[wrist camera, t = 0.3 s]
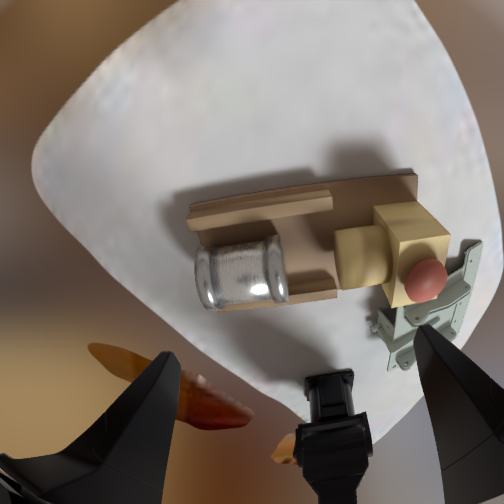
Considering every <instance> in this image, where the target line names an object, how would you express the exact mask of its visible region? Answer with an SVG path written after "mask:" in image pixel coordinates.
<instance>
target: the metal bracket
mask: <svg viewBox="0 0 504 504" xmlns="http://www.w3.org/2000/svg"><path fill="white" fill-rule="evenodd" d="M482 247H483V242H482V241H480V242H478V243H477V244H475V245H474V246H472V247H470V248H469V249H467V251H466V254H465V259H464V264H463V266H462V267H461V268H460V269H458V270H457V271H455V272H453V273H452V274H450V275H448V277H447V282H446V284H445V286H444V288H443V289H442V291H441V292H440V293H439V294H438V296H437V298H436V299H432V300H429V301H426V302H422V303H414V304H410V305H406V306H405V307H403V306H400V307H397V309H396V318H395V325H394V326H393V325H392V323H391V322H390V321H389V320H388V319H387V317H386V316H385V315H384V314H383V313H382V312H381V310H380V309H379V310H378V316H377V324H375V325H373V326H371V327H370V328H371V331H372V332H373V333H374V332H375V331H376V332H377V333H378V335H379V336H380V337H381V338H382V340H383V341H384V342H385V344H386V346H387V348H388V350H389V352H390V357H389V362H388V367H387V371H388V372H389V371H391V370H393V369H395V368H397V367H398V366H399V367H400V368H401V369H402V370H403V371H407V370H409V369H410V368H411V366H412V365H413V364H414V363H415V361H416V356H415V351H414V346H413V340H414V337H415V334H416V331H417V328H418V326H420V325H424V324H430V325H431V326H432V327H433V328H435V329H436V330H437V331H438V332H439V333H441V334H442V335H443V336H444V337H445V338H447V339H448V340H449V341H450V342H452V341H453V340H454V339H455V338H456V337H457V335H458V333H459V331H460V328H461V325H462V322H463V318H464V315H465V312H466V309H467V306H468V303H469V300H470V296H471V293H472V289H473V286H474V282H475V278H476V274H477V270H478V266H479V262H480V257H481V253H482ZM394 365H395V366H394ZM393 366H394V367H393Z"/></svg>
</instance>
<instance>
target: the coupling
mask: <svg viewBox="0 0 504 504" xmlns="http://www.w3.org/2000/svg"><path fill="white" fill-rule="evenodd" d="M195 281H196V287H197V291H198V294H199V297H200V300H201V302H202V304H203V306H204V307H205V308H206V309H207V310H218V309H224V308H225V306H226V305H229V304H239V303H248V302H257V301H266V300H273V301H274V303H275V304H276V303H284V302H289V287H288V277H287V269H286V262H285V255H284V249H283V243H282V238H281V235H280V234H276V235H270V236H266V239H265V240H264V241H257V242H250V243H243V244H236V245H230V246H223V247H218V245H216V244H209V245H203V246H200V247H199V248H198V250H197V252H196V256H195Z"/></svg>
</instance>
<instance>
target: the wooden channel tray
mask: <svg viewBox="0 0 504 504" xmlns="http://www.w3.org/2000/svg"><path fill="white" fill-rule="evenodd" d="M417 189H418V175H417V174H415V173H413V174H400V175H388V176H377V177H367V178H357V179H348V180H340V181H331V182H323V183H316V184H308V185H301V186H294V187H287V188H281V189H274V190H268V191H262V192H256V193H250V194H244V195H238V196H232V197H227V198H221V199H216V200H211V201H206V202H201V203H196V204H191V205H190V207H189V208H190V211H191V212H190V214H189V215H188V217H187V219H186V223H187V226H188V229H189V232H193V231H197V233H198V236H199V239H200V242H201V245H202V246H203V245H209V244H216V245H218V247H223V246H230V245H236V244H243V243H250V242H257V241H264V240H265V239H266V236H270V235H276V234H280V235H281V238H282V243H283V249H284V255H285V262H286V269H287V277H288V287H289V302H284V303H276V304H275V303H274V301H273V300H266V301H257V302H248V303H239V304H229V305H226V306H225V308H224V309H218V312H223V311H234V310H244V309H254V308H263V307H272V306H281V305H289V304H297V303H304V302H312V301H319V300H326V299H333V298H337V290H339V289H341V290H347V289H354V288H360V287H366V286H372V285H378V284H381V285H382V288H383V290H384V292H385V294H386V297H387V299H388V301H389V303H390V306H391V308H395V307H400V306H405V305H410V304H414V303H422V302H426V301H429V300H432V299H436V298H437V296H438V294H439V293H440V292H441V291H442V289H443V288H444V286H445V284H446V282H447V277H448V274H447V270H446V269H445V262H446V258H447V253H448V247H449V242H450V236H451V234H450V233H449V232H448V231H447V230H446V229H445V228H444V227H443V226H442V225H441V224H440V223H439V222H438V221H437V220H436V219H435V218H434V217H433V216H432V215H431V214H430V213H429V212H428V211H427V210H426V209H425V208H424V207H423V206H422V205H421V204H420V203H419V202H417Z"/></svg>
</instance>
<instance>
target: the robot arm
mask: <svg viewBox="0 0 504 504" xmlns="http://www.w3.org/2000/svg"><path fill="white" fill-rule="evenodd" d="M413 346H414V351H415V356H416V361H417V366H418V371H419V377H420V381H421V385H422V389H423V392H424V396H425V399H426V403H427V407H428V411H429V415H430V419H431V423H432V427H433V432H434V436H435V441H436V446H437V451H438V456H439V461H440V468H441V475H442V482H443V490H444V498H445V504H504V389H503V388H502V387H501V386H500V385H498V384H497V383H496V382H495V381H494V380H493V379H492V378H490V376H489V375H487V374H486V373H485V372H484V371H483V370H482V369H481V368H480V367H479V366H478V365H476V364H475V363H474V362H473V361H472V360H471V359H470V358H468V357H467V356H466V355H465V354H464V353H463V352H461V350H459V349H458V348H457V347H456V346H455V345H454V344H452V343H451V342H450V341H449V340H448V339H447V338H445V337H444V336H443V335H442V334H441V333H439V332H438V331H437V330H436V329H435V328H433V327H432V326H431V325H430V324H424V325H420V326H418V328H417V331H416V334H415V337H414V340H413ZM180 373H181V366H180V363H179V361H178V360H177V358H176V356H175V355H174V353H173V352H172V351H162V352H160V353H159V355H158V356H157V357H156V358H155V359H154V360H153V361H152V362H151V363H150V364H149V365H148V366H147V367H146V368H145V369H144V371H143V372H142V373H141V374H140V375H139V376H138V377H137V378H136V379H135V380H134V381H133V382H132V383H131V385H129V387H128V388H127V389H126V390H125V391H124V392H123V393H122V394H121V395H120V396H119V397H118V398H117V399H116V400H115V401H114V403H113V404H112V405H111V406H110V407H109V408H108V409H107V410H106V412H104V413H103V414H102V415H101V416H100V417H99V418H98V419H97V421H95V422H94V423H93V424H92V426H90V427H89V428H88V429H87V430H86V431H85V432H84V433H83V434H82V435H80V436H79V437H78V438H77V439H76V440H75V441H73V442H72V443H71V444H70V445H69V446H67V447H66V448H65V449H64V450H62V451H60V452H58V453H55V454H51V455H45V456H39V457H32V458H24V459H13V458H12V457H10V456H9V455H7V454H5V453H1V454H0V468H1V469H2V470H3V471H4V472H5V473H7V474H8V475H7V474H5V473H4V472H2V471H0V504H161V501H162V495H163V488H164V480H165V475H166V468H167V462H168V456H169V450H170V445H171V439H172V433H173V428H174V422H175V417H176V412H177V406H178V398H179V385H180ZM353 380H354V372H353V371H349V372H343V373H336V374H329V375H322V376H315V377H307V378H305V386H306V395H307V401H310V415H311V423H306V424H302V423H301V424H298V428H297V429H296V441H295V446H294V452H293V458H294V459H296V460H297V463H298V466H299V468H303V477H304V478H305V479H306V481H307V482H308V483H309V485H310V486H311V487H312V489H313V490H314V491H315V492H316V494H317V495H318V502H319V503H318V504H357V496H356V492H357V490H358V488H359V486H360V484H361V483H362V480H363V479H364V477H365V475H366V473H367V469H368V465H369V464H368V457H371V456H373V448H372V439H371V433H370V428H369V423H368V419H367V414H366V412H362V413H360V414H356V415H355V413H354V406H353V400H352V394H351V392H352V386H353Z"/></svg>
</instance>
